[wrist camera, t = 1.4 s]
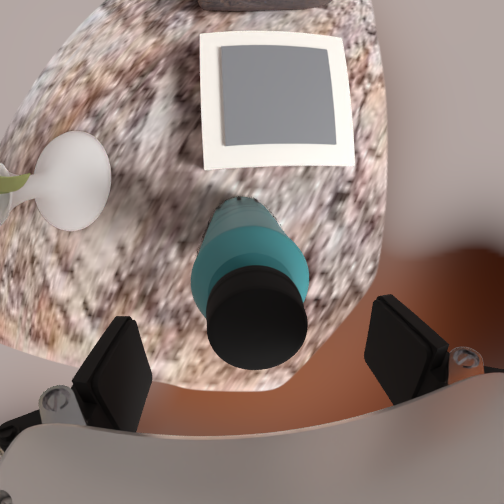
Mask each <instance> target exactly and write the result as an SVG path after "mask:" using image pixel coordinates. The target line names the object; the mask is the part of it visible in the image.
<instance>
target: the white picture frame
mask: <svg viewBox="0 0 504 504" xmlns="http://www.w3.org/2000/svg"><path fill="white" fill-rule="evenodd" d="M200 88H201V118H202V139H203V157H204V170H218V169H232V168H248V167H271V166H355V157H354V136H353V122H352V110H351V99H350V90H349V82H348V74H347V67H346V60H345V54H344V48H343V42H342V38H338V37H331V36H324V35H317V34H308V33H297V32H282V31H229V32H215V33H204V34H200Z"/></svg>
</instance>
